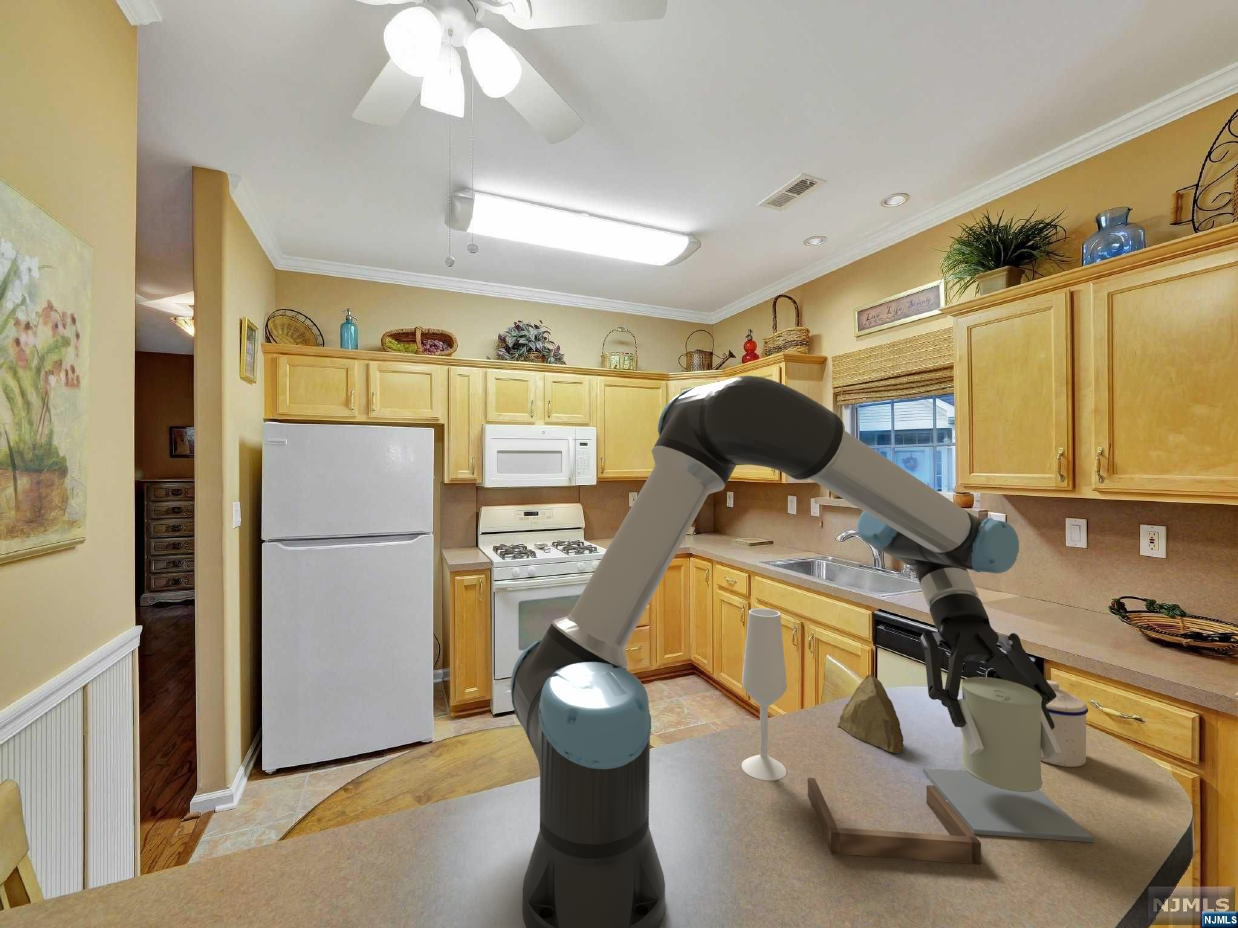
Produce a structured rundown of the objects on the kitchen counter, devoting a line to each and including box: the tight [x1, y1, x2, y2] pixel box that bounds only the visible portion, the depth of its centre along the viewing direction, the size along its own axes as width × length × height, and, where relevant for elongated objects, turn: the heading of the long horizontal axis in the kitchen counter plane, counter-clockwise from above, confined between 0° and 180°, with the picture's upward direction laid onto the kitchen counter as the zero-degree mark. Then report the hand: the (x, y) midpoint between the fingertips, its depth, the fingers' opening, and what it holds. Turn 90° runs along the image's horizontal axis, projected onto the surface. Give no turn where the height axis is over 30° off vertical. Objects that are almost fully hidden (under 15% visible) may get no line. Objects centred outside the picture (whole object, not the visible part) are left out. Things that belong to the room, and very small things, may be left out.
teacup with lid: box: [1041, 679, 1089, 768], centre depth 90 cm, size 12×9×12 cm
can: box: [960, 676, 1043, 792], centre depth 75 cm, size 9×9×12 cm
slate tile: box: [922, 767, 1094, 843], centre depth 75 cm, size 14×14×1 cm
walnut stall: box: [807, 777, 982, 865], centre depth 70 cm, size 17×12×2 cm
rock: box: [836, 674, 904, 754], centre depth 93 cm, size 11×9×10 cm
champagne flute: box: [741, 607, 788, 782], centre depth 84 cm, size 7×7×24 cm
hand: (1015, 753), depth 72 cm, fingers closed on can, 9 cm apart
